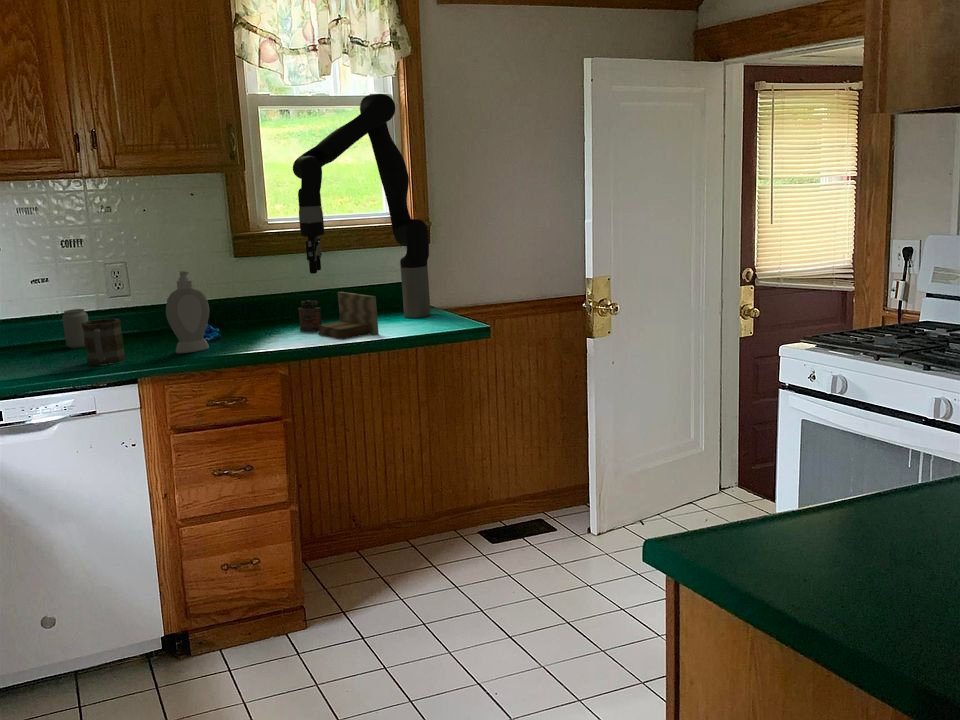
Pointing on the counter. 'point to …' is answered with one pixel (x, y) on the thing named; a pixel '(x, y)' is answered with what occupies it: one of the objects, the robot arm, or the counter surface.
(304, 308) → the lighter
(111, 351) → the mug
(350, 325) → the wooden bookend
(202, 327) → the soap bottle
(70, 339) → the can
